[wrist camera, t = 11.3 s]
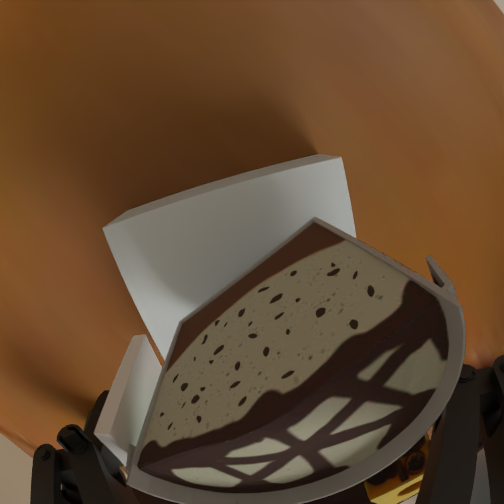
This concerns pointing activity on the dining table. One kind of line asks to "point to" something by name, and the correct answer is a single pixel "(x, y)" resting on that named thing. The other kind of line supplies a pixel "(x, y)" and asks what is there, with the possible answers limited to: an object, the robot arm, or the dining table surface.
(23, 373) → the dining table surface
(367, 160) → the dining table surface
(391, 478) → the yellow and brown cube
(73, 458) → the robot arm
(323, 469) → the food container
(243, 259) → the light grey block
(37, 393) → the dining table surface
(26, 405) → the dining table surface
